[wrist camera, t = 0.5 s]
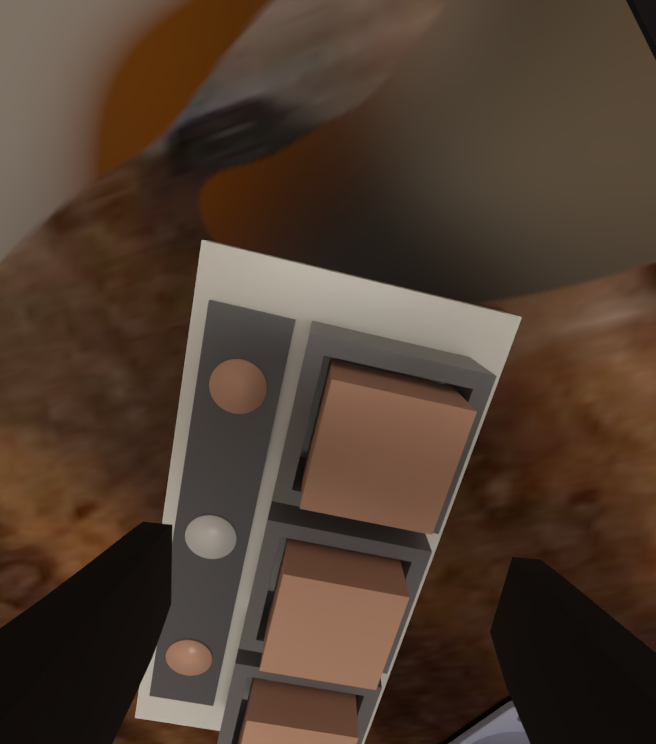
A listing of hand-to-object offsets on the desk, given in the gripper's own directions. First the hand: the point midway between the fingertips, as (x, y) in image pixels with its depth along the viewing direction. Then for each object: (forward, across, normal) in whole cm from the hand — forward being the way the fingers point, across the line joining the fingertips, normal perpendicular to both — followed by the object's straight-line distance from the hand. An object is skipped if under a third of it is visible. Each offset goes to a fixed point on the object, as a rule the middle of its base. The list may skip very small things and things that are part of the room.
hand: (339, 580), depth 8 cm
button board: (+10, +1, +6) cm, 11 cm away
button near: (+7, -1, -1) cm, 7 cm away
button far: (+6, 0, +13) cm, 15 cm away
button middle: (+6, -1, +6) cm, 9 cm away
